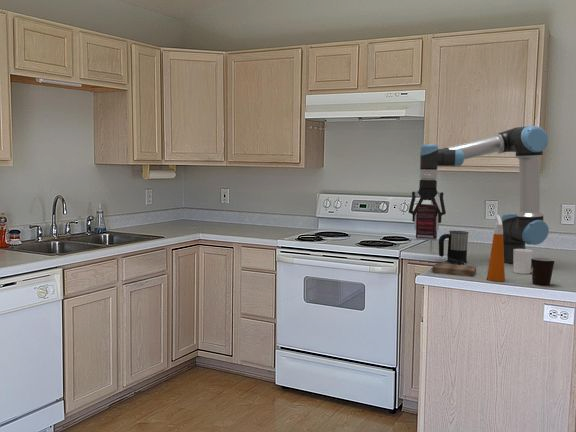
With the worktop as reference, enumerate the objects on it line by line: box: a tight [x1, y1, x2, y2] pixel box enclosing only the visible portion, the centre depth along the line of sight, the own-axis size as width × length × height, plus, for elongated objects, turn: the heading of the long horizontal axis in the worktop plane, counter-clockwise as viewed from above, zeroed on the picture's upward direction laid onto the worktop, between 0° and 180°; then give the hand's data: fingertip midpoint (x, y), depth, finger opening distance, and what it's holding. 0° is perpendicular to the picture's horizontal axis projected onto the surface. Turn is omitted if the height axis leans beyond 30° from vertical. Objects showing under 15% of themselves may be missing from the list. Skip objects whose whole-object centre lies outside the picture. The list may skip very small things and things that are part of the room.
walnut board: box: [431, 262, 477, 278], centre depth 259 cm, size 17×12×2 cm
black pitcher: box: [438, 230, 469, 265], centre depth 283 cm, size 14×16×15 cm
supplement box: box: [415, 203, 438, 241], centre depth 269 cm, size 9×5×16 cm, turn 63°
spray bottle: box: [486, 214, 506, 282], centre depth 245 cm, size 7×11×26 cm, turn 171°
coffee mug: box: [531, 256, 555, 287], centre depth 239 cm, size 12×9×10 cm
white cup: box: [512, 248, 534, 275], centre depth 263 cm, size 8×8×10 cm
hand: (426, 229), depth 269 cm, fingers closed on supplement box, 9 cm apart
